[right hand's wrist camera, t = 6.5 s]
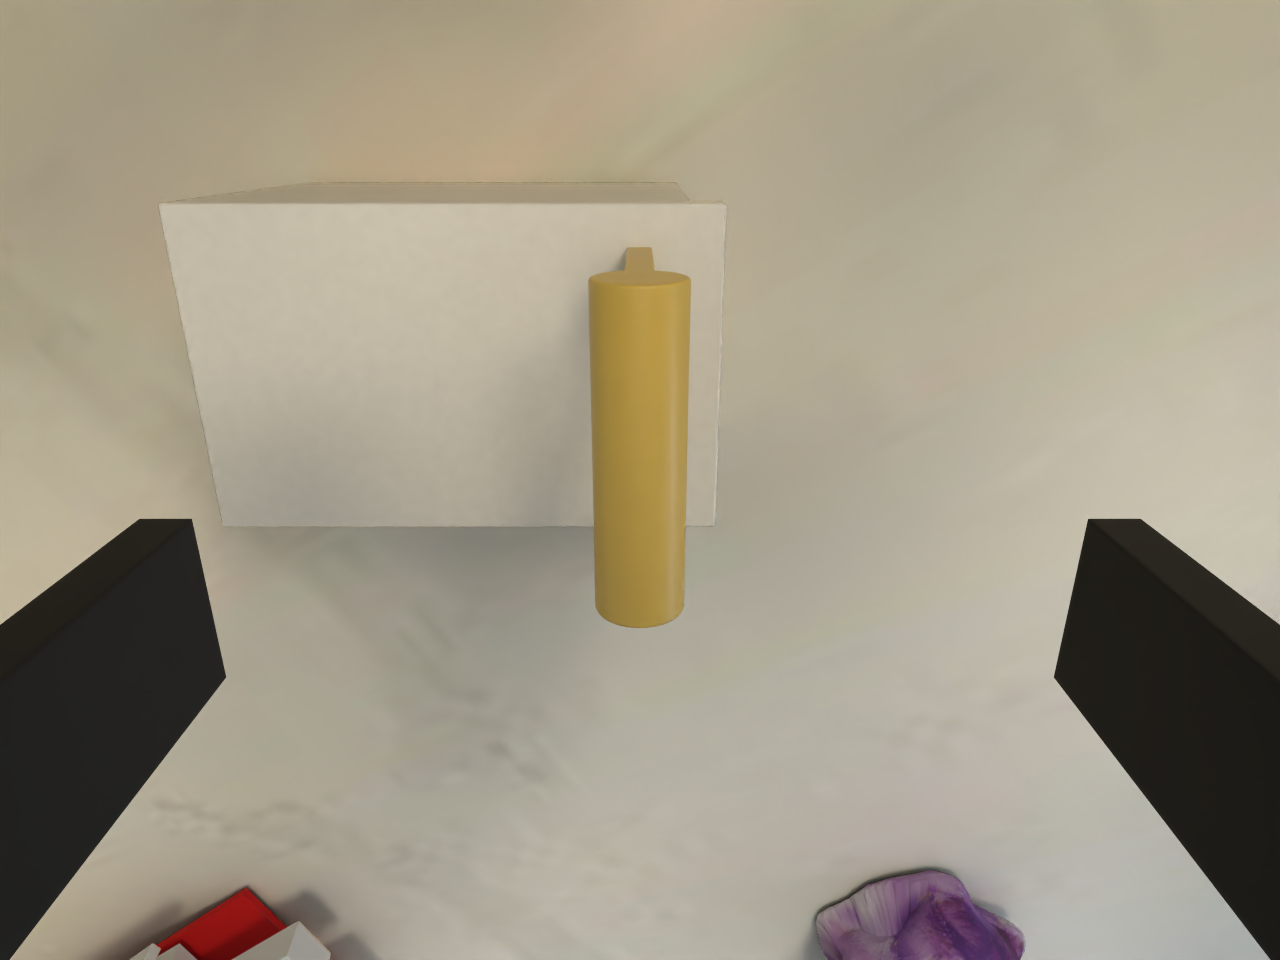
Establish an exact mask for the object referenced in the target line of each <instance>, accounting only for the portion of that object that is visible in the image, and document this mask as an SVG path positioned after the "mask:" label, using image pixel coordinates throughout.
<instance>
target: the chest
mask: <svg viewBox="0 0 1280 960" xmlns="http://www.w3.org/2000/svg"><path fill="white" fill-rule="evenodd" d="M177 201H691V200H690V199H689V198H688V197H687V195H686V194H685V193H684V192H683V191H682V189H681V188H680V187H679V186H678V184H677V183H302V184H295V185H287V186H280V187H273V188H265V189H258V190H251V191H243V192H236V193H229V194H221V195H214V196H206V197H199V198H192V199H184V200H177Z"/></svg>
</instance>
